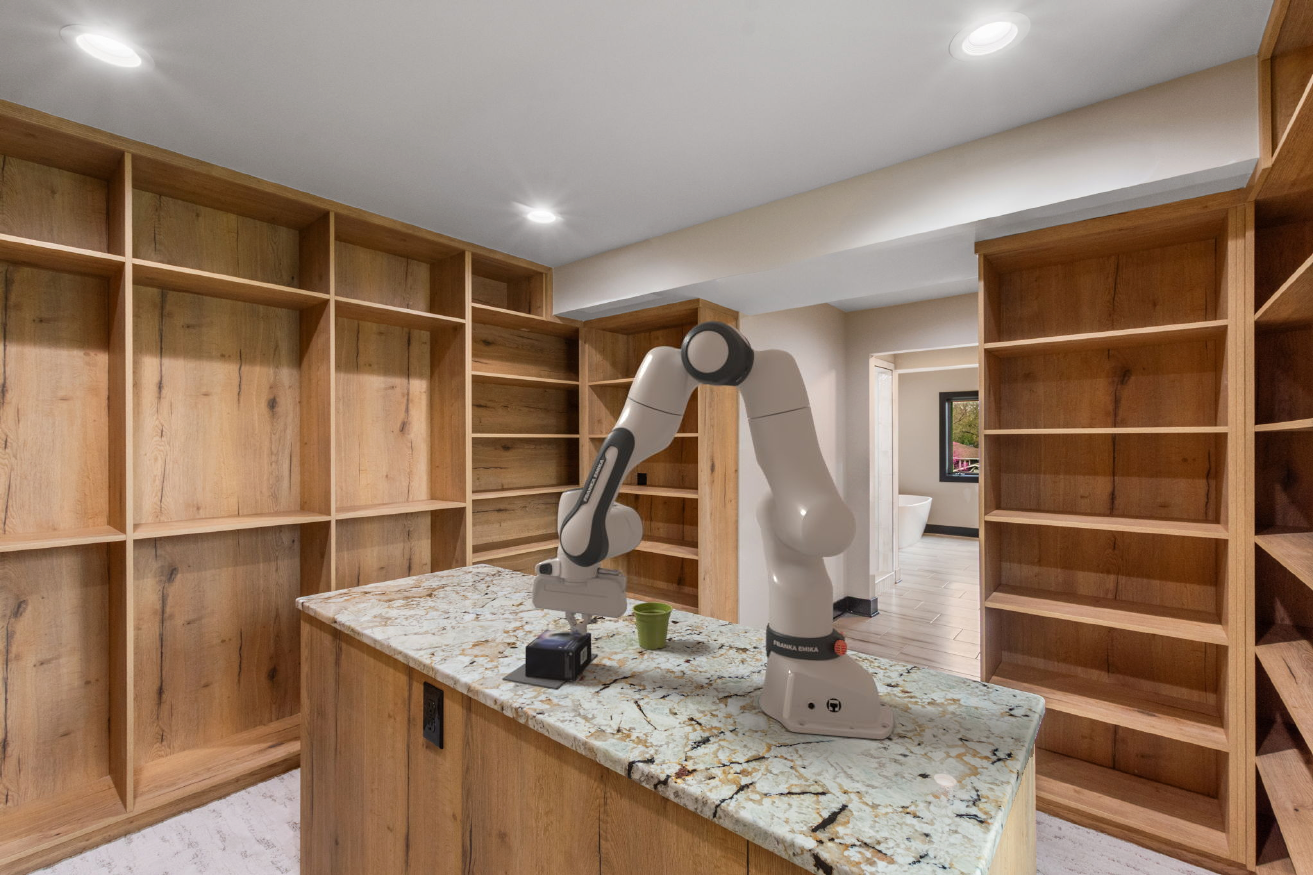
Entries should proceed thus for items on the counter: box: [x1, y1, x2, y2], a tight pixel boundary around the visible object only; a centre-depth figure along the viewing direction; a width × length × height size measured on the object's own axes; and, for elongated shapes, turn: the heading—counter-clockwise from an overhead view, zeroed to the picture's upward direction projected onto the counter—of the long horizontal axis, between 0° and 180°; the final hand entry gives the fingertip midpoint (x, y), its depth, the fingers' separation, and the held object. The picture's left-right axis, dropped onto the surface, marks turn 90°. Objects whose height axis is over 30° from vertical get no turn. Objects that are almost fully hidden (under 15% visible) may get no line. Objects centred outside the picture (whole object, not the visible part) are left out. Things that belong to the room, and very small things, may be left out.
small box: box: [524, 629, 592, 682], centre depth 116 cm, size 11×6×10 cm
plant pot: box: [631, 601, 674, 651], centre depth 131 cm, size 9×9×9 cm
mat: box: [501, 652, 598, 690], centre depth 118 cm, size 12×18×1 cm, turn 160°
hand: (578, 633), depth 116 cm, fingers closed
